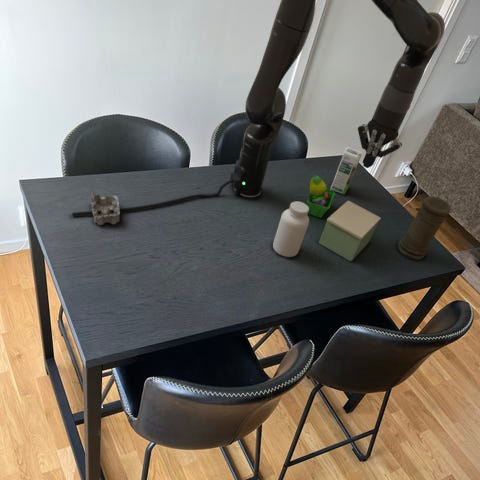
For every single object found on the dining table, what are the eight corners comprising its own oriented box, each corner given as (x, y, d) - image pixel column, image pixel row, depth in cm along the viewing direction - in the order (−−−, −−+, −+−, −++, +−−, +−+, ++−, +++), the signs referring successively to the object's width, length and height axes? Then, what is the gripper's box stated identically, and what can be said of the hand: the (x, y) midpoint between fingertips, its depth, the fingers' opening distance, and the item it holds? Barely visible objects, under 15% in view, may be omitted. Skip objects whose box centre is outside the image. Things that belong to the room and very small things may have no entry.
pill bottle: (301, 246, 140) (316, 204, 129) (294, 261, 134) (310, 219, 124) (276, 237, 141) (289, 194, 130) (269, 251, 135) (282, 208, 124)
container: (424, 263, 146) (454, 216, 133) (397, 255, 146) (424, 207, 133) (422, 246, 153) (451, 200, 140) (396, 238, 153) (422, 191, 140)
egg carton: (91, 203, 135) (90, 190, 132) (117, 203, 137) (117, 191, 134) (92, 225, 128) (91, 213, 125) (120, 225, 130) (120, 213, 127)
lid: (361, 239, 133) (362, 237, 132) (326, 220, 136) (327, 218, 135) (380, 219, 142) (381, 217, 141) (347, 202, 145) (348, 200, 144)
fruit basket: (324, 221, 151) (335, 192, 143) (298, 212, 152) (308, 182, 144) (330, 204, 159) (342, 175, 151) (306, 195, 160) (316, 166, 151)
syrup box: (329, 189, 165) (343, 152, 155) (333, 182, 169) (347, 145, 159) (344, 195, 165) (359, 158, 154) (348, 188, 169) (363, 151, 158)
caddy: (350, 261, 140) (362, 238, 133) (318, 242, 143) (327, 219, 136) (368, 242, 148) (380, 220, 142) (337, 225, 151) (347, 202, 145)
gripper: (365, 97, 116) (340, 159, 129) (412, 119, 113) (382, 181, 125) (376, 90, 121) (352, 151, 134) (422, 112, 117) (392, 172, 130)
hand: (366, 166), depth 129 cm, fingers closed
